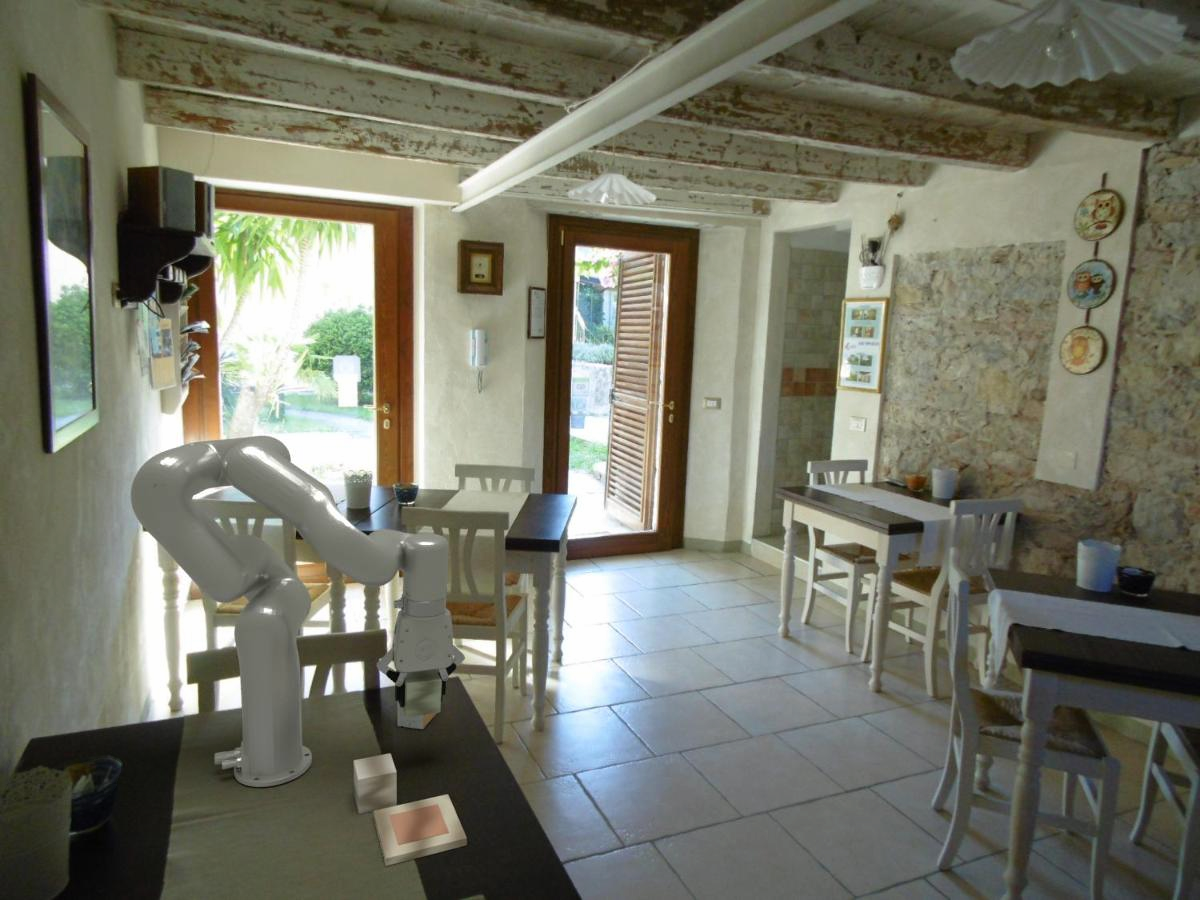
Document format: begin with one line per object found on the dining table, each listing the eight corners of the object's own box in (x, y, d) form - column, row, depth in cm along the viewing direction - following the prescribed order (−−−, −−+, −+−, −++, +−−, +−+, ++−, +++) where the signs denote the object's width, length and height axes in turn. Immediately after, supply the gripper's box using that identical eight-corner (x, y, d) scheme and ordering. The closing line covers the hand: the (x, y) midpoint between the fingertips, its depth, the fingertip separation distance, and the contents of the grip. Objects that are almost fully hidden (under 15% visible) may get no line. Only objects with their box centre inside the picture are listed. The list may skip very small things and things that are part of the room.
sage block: (405, 717, 130) (407, 684, 129) (399, 701, 135) (400, 670, 135) (440, 712, 133) (441, 680, 132) (432, 697, 138) (434, 666, 137)
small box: (423, 730, 146) (423, 679, 145) (396, 726, 148) (396, 676, 146) (439, 711, 154) (439, 662, 153) (414, 707, 155) (414, 659, 154)
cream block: (358, 814, 120) (358, 779, 120) (354, 793, 126) (353, 760, 125) (396, 805, 123) (396, 771, 122) (390, 785, 128) (390, 753, 127)
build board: (385, 866, 109) (385, 857, 108) (373, 817, 119) (373, 810, 119) (466, 845, 114) (466, 837, 114) (447, 800, 124) (448, 793, 124)
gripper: (376, 616, 124) (373, 718, 127) (477, 608, 132) (472, 704, 134) (370, 601, 131) (367, 698, 134) (466, 594, 138) (462, 686, 141)
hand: (420, 700), depth 134 cm, fingers closed on sage block, 6 cm apart
